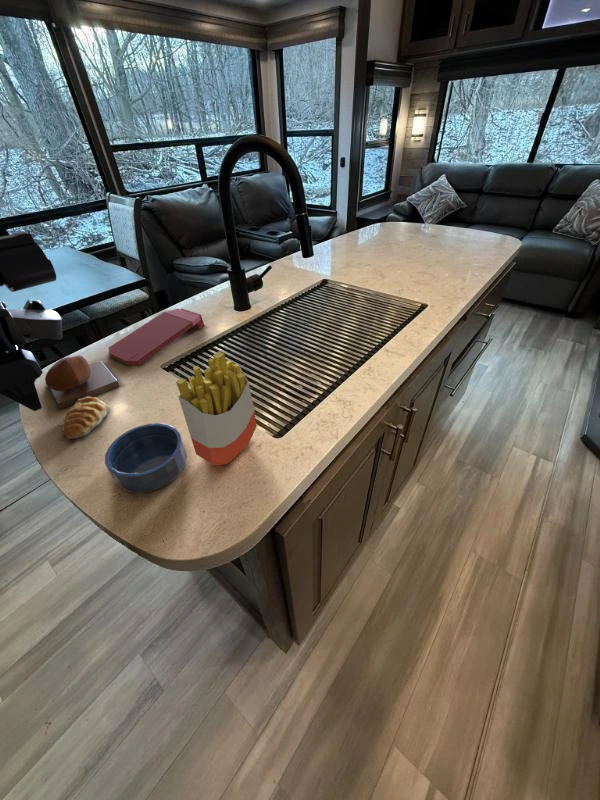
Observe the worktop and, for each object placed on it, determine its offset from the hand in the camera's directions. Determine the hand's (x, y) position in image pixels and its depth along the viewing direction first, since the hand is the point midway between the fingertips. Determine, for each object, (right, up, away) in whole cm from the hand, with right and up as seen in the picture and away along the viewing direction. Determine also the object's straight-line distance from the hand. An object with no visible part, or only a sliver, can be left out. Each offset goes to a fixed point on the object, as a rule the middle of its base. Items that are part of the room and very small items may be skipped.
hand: (32, 395), depth 53 cm
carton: (+4, +16, +39) cm, 42 cm away
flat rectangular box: (-7, +3, +23) cm, 24 cm away
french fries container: (+31, -10, +7) cm, 33 cm away
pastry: (+1, -5, +13) cm, 14 cm away
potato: (-7, +2, +20) cm, 21 cm away
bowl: (+18, -12, +4) cm, 22 cm away
